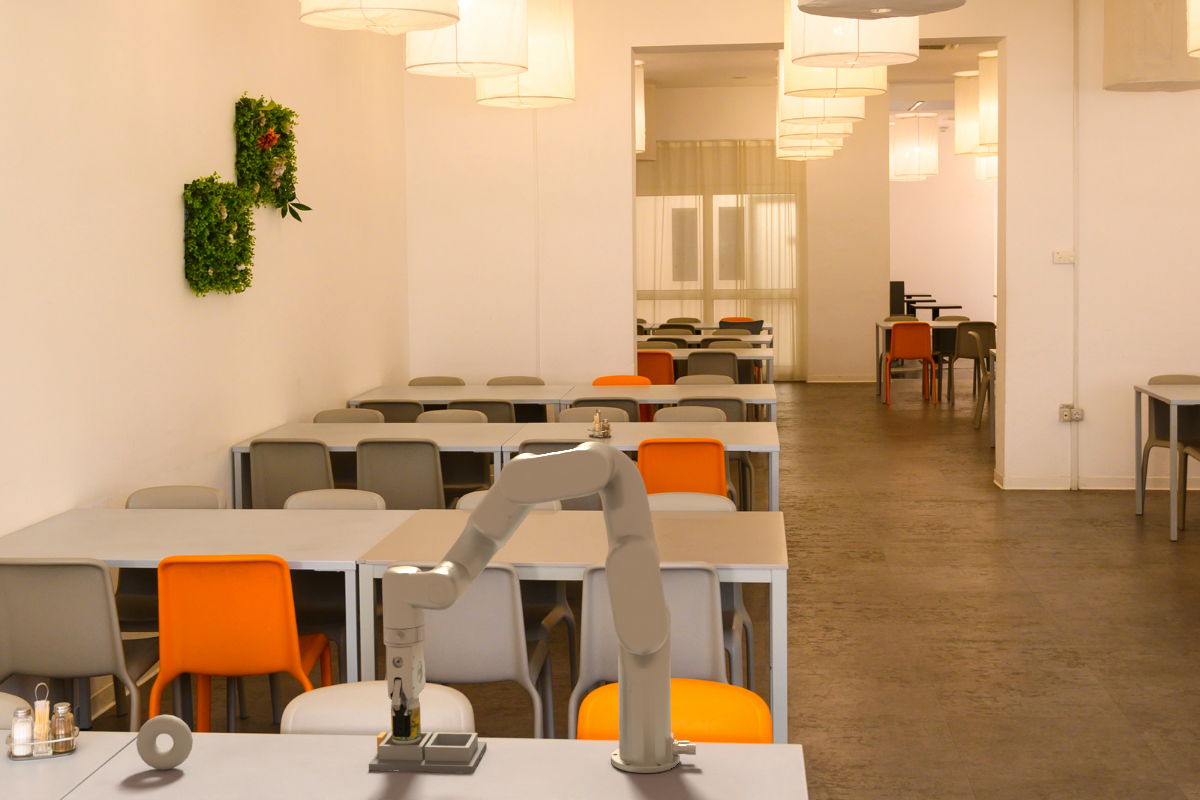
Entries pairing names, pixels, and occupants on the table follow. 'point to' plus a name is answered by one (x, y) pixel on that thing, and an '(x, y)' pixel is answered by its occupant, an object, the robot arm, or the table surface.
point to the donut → (150, 749)
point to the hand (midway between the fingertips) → (406, 730)
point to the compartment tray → (429, 753)
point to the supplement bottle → (415, 723)
